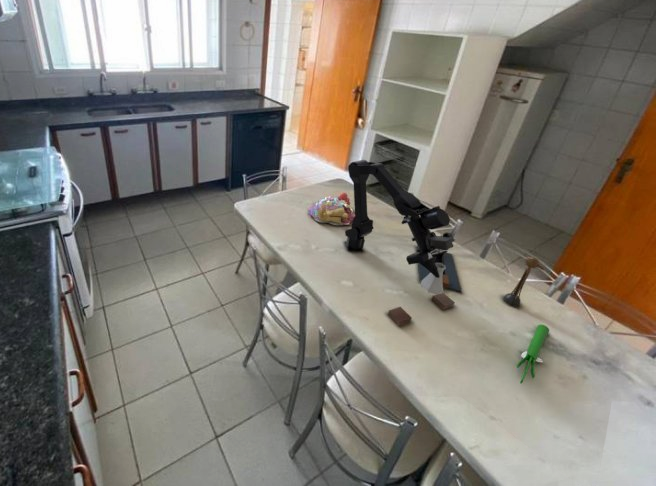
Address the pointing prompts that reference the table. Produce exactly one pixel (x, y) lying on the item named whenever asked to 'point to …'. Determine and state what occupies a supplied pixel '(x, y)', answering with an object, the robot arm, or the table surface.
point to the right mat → (448, 278)
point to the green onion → (534, 350)
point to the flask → (434, 281)
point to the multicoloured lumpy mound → (333, 210)
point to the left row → (402, 317)
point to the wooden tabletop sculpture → (522, 282)
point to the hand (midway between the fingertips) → (441, 275)
